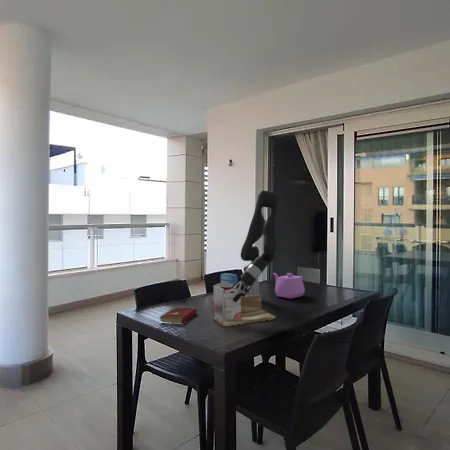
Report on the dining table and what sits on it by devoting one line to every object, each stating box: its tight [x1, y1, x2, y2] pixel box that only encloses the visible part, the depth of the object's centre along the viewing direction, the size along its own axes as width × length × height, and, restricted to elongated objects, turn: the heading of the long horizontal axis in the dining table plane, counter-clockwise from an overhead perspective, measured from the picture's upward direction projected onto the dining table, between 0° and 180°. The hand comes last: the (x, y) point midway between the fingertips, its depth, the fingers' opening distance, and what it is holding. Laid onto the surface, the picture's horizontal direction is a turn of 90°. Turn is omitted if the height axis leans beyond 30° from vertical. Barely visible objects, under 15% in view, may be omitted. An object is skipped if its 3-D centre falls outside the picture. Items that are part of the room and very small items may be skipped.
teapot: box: [272, 272, 306, 300], centre depth 237 cm, size 23×21×15 cm
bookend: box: [213, 284, 225, 322], centre depth 180 cm, size 12×1×16 cm, turn 22°
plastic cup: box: [216, 282, 233, 294], centre depth 217 cm, size 11×11×12 cm
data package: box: [220, 273, 238, 284], centre depth 253 cm, size 12×4×12 cm, turn 48°
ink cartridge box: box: [224, 289, 241, 320], centre depth 182 cm, size 9×5×15 cm, turn 109°
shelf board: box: [211, 294, 276, 327], centre depth 185 cm, size 16×28×10 cm, turn 112°
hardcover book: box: [158, 306, 198, 324], centre depth 188 cm, size 12×21×4 cm, turn 164°
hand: (230, 299), depth 182 cm, fingers open, 8 cm apart
